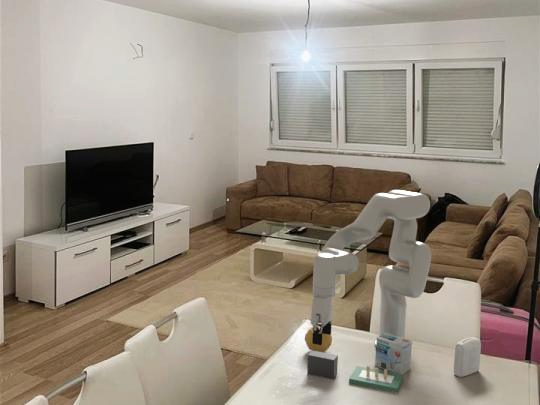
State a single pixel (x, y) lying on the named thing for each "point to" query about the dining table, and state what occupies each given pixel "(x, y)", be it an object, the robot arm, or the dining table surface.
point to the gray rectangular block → (322, 364)
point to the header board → (376, 379)
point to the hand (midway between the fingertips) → (321, 338)
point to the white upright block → (467, 357)
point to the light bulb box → (393, 353)
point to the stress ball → (320, 348)
